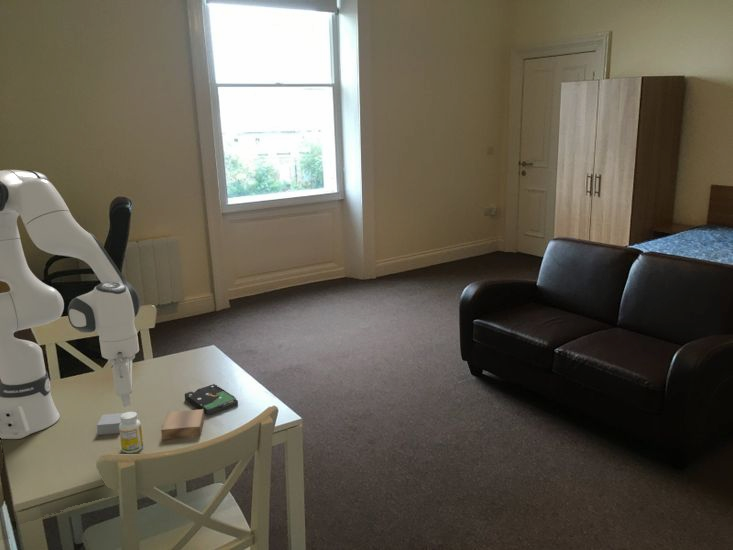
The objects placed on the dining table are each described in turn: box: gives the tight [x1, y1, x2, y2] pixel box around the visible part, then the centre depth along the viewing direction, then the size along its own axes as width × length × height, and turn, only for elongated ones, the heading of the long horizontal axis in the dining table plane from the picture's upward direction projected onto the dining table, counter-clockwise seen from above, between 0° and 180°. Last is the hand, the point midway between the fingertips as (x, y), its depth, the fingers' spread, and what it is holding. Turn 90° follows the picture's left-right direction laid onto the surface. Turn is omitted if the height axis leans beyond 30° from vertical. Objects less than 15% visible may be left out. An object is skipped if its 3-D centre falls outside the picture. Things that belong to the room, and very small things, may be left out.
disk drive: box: [184, 383, 239, 417], centre depth 183 cm, size 10×3×15 cm
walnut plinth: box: [161, 409, 205, 441], centre depth 168 cm, size 10×10×3 cm
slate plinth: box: [96, 412, 125, 436], centre depth 169 cm, size 6×6×3 cm
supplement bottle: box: [119, 411, 144, 454], centre depth 158 cm, size 5×5×10 cm
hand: (127, 397), depth 155 cm, fingers open, 8 cm apart
